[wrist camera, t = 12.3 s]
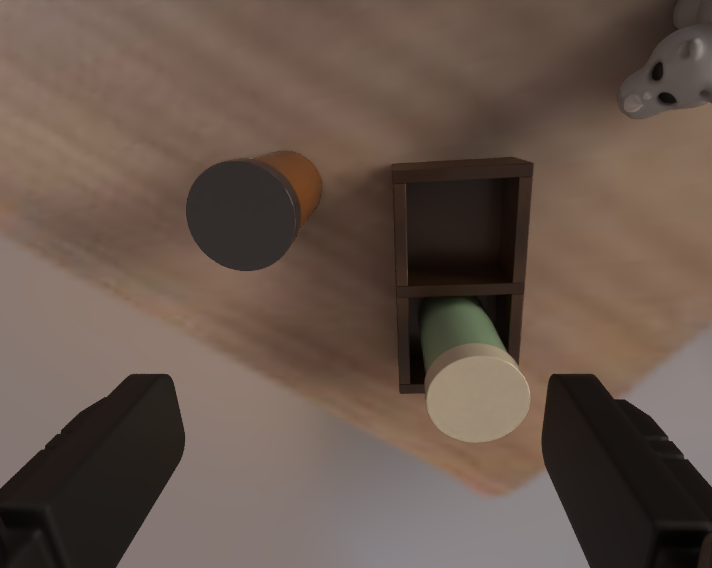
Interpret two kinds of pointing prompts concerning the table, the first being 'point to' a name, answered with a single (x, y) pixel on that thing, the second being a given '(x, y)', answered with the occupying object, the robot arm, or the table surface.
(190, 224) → the amber jar
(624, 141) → the table surface
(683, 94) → the chubby cartoon animal
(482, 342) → the green jar
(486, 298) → the jar stand
